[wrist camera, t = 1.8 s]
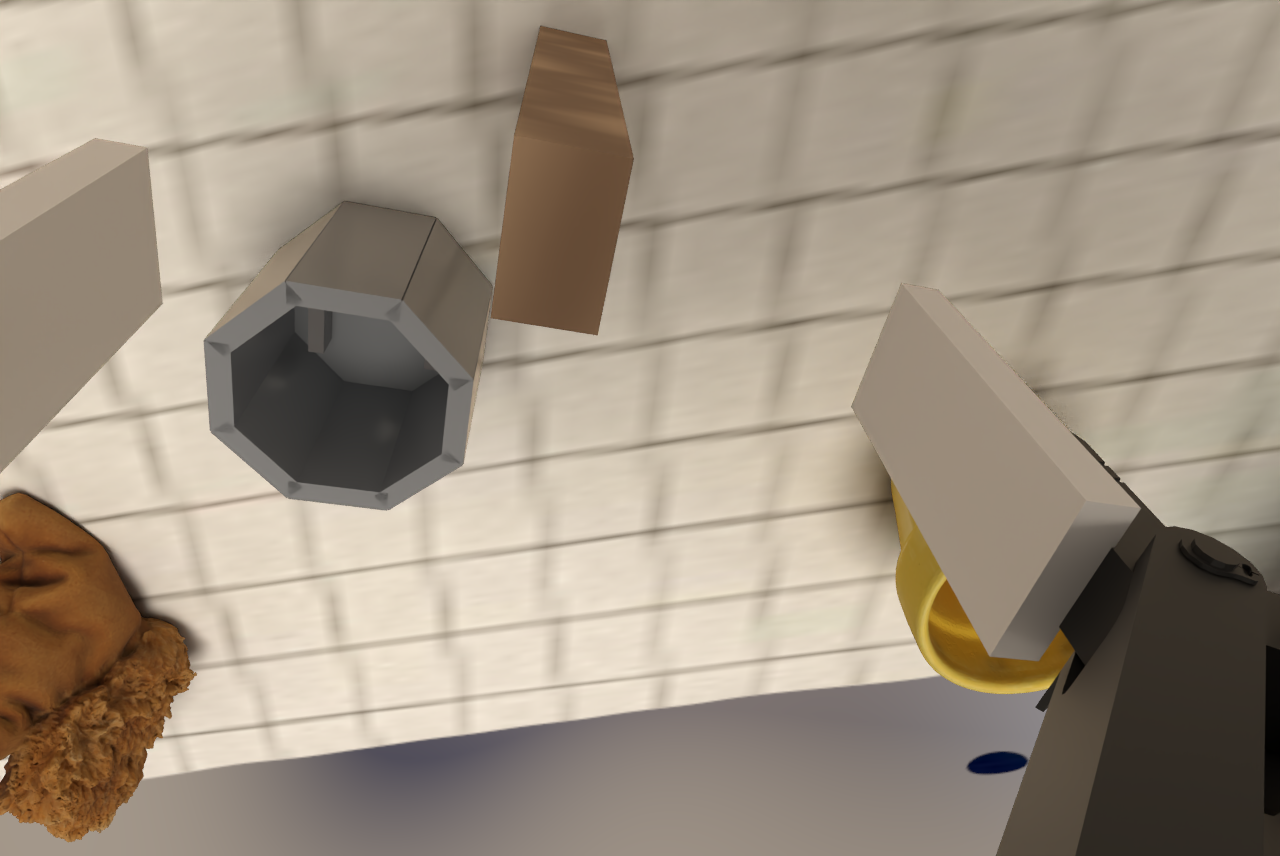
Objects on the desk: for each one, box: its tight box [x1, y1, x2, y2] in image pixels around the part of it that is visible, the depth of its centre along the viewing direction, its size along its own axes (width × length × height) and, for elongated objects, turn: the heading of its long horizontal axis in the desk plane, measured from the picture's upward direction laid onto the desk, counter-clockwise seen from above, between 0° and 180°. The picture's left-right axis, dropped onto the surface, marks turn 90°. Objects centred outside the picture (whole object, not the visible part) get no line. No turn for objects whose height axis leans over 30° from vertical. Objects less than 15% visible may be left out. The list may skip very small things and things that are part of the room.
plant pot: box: [891, 479, 1075, 694], centre depth 38 cm, size 10×10×10 cm
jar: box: [204, 201, 493, 510], centre depth 32 cm, size 9×9×8 cm
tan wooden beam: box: [491, 26, 634, 335], centre depth 24 cm, size 2×4×16 cm, turn 168°
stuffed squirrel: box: [0, 493, 197, 842], centre depth 38 cm, size 10×14×13 cm
